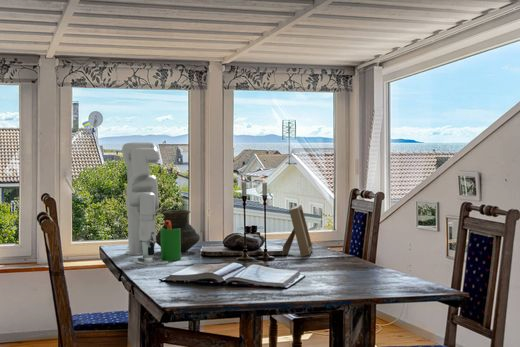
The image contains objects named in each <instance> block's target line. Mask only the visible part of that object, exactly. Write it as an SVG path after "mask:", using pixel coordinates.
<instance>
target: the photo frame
mask: <svg viewBox="0 0 520 347" xmlns="http://www.w3.org/2000/svg"><path fill="white" fill-rule="evenodd" d="M303 209H304V208H303V206H302V204H300V205H296V206H293V207H291V208H290V209H289V210H288V212H289V215H290V216H289V217H290V219H291V224H292V226H293V229H292V231H291V233H290V234H289V236H288V238H287V239H286V241H285V242H284V244H283V246H282V252H281V255H282V256H284V255H285V256H286V255H289V253H290V250H291V247H292V244H293V241H294V240H295V239H296V242H297V245H298V246H297V247H298V249H299V254H300V256H301V258H302V257H305V256H306V257H307V256H310V254H311V253H312V252H313V244H312V241H311V236H310V233H309V228H308V224H307V221H306V218H305V214H304V213H305V212H304V210H303Z"/></svg>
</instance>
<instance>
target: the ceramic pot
mask: <svg viewBox="0 0 520 347" xmlns="http://www.w3.org/2000/svg"><path fill="white" fill-rule="evenodd" d="M190 213H191V210H188V209H187V210H186V209H177V210H176V209H174V210H173V209H171V210H166V211H161V214H163V216H164V222H165V221H171V227H172V229H179V228H180V229H181V254H184V253H187V252H188V251H189V250H190V249H191V248H192V247H194V246H195V245H196V244H198V243H199V241H200V240H201V239H200V238H201V237H200V234H199V233H197V231H196V229H195V228H194V227H193V226H192V225H191V223H190V221H189V214H190ZM161 228H165V229H167V225H165V223H164V224H163V225H162V227H161ZM155 244H157V245H158V246H159V247H160V248H161V238H160V230H159V232H157V233H156V243H155Z"/></svg>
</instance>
